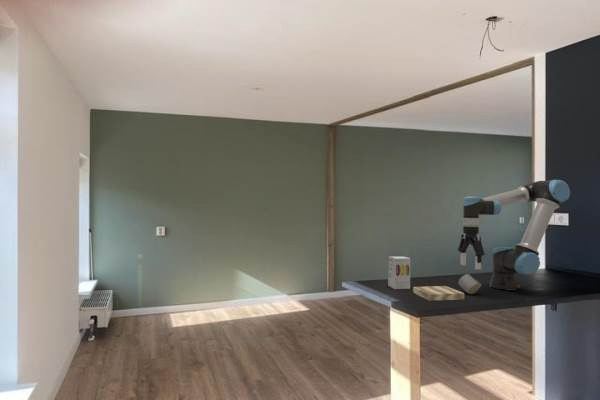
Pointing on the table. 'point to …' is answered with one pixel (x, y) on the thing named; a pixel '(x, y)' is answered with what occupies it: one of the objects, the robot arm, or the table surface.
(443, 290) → the square wooden tile
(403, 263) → the supplement box
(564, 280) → the table surface
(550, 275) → the table surface
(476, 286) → the ceramic mug
